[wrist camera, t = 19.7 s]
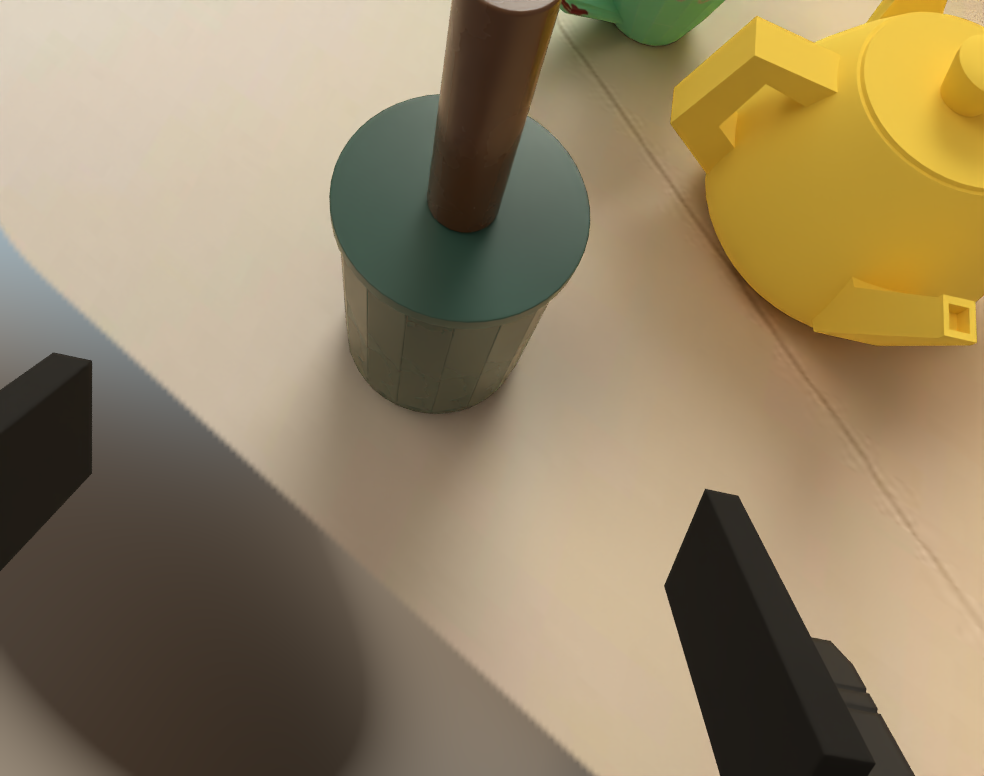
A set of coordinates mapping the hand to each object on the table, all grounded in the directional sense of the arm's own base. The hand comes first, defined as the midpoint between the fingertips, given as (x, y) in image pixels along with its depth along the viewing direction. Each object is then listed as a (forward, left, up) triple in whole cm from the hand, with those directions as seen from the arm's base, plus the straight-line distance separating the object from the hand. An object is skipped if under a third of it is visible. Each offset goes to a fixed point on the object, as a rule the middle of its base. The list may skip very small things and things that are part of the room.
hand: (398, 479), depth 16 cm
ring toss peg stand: (+4, +10, -6) cm, 12 cm away
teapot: (+26, +14, -16) cm, 33 cm away
